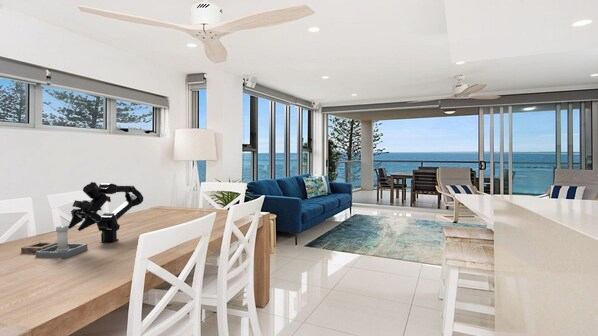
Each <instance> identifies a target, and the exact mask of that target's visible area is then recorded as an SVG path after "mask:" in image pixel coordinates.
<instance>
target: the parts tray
mask: <svg viewBox="0 0 598 336" xmlns="http://www.w3.org/2000/svg"><path fill="white" fill-rule="evenodd" d="M68 247H69V251H66V252H57V250H56V249H57V245H54V246H51V247H49V248H46V249H43V250H40V251H37V252H36V253H35V258H60V260H61V259H62V260H64V259H65V260H66V259H68V258H70V257H72V256H75V255H77V254H80V253H83V252H85V251H87V250H88V243H70V242H68Z"/></svg>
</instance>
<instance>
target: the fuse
mask: <svg viewBox="0 0 598 336" xmlns="http://www.w3.org/2000/svg"><path fill="white" fill-rule="evenodd" d="M68 226H69V225H60V226H56V227H55V232H56V242H57V249H56V250H57V252H66V251H69V247H68V243H69V238H68V237H69V236H68V235H69V234H68V231H69V228H68Z"/></svg>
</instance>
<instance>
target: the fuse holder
mask: <svg viewBox="0 0 598 336" xmlns="http://www.w3.org/2000/svg"><path fill="white" fill-rule="evenodd" d="M54 245H57V241H55V242H53V241H39V242H35V243H32V244H28V245H26V246H23V247H20V249H21V250H20V251H21V252H20V253H22V254H36V252H37V251H40V250H43V249H46V248H49V247H51V246H54Z"/></svg>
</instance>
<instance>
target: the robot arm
mask: <svg viewBox="0 0 598 336" xmlns="http://www.w3.org/2000/svg"><path fill="white" fill-rule="evenodd" d="M82 191H83V193H84V194H85V196H87V197H88V198H90V199H91V200H90V201H88V200H85V199H84V200H82V201H81V200H77V199H75V200H74V202H73V204H72V207H74V208H73V209H71V211H70V214H71V220H70V222H69V224H68V225H67V226H68V230H69V229H70V230H71V229H72V228H74V227H75V226H77V225H78V224H80V223H81V224H80V225H79V227H78V229H77V231H78V232H81V231H83V230H85V229H86V228H89V227H91V226H93V225H95V224H96V226H97V229H98V231H99V232H101V234H100V236H101V237H100V239H101V242H100V241H99V243H100V244H101V243H103V244H107V243H108V244H112V243H114V242H116V241H119V238H117V237H118V235H117V231H119V230H120V224H119V223H118V220H119V219H120V218H121V217H123V215H125V214H126V213H127V212H129V210H131V209H132V208H133V207H135V206H136V207H137V206H139V205H141V204H142V203H143V201H144V196H143V194H142V193H141V192H140V191H139V190H138V189H137V188H136V186H134V185H117V184H114V183H99V185H98V184H97V183H96V182H95V181H91V182H90V183H89V184H86V185H84V186H83V188H82ZM116 193H125V194H124V198H125V201H124V202H123V203H122V204H120V205H119V206H118V207H116V208H115V209H114V210H113V211H112V212H111V213H107V212H104V213H103V214H102V215H101V214H99V213H98V212H99V211H102V207H103V206H104V205H105V204H106V203H107V202H109V203H111V202H112V201H111V196H109V195H115V194H116Z"/></svg>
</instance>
